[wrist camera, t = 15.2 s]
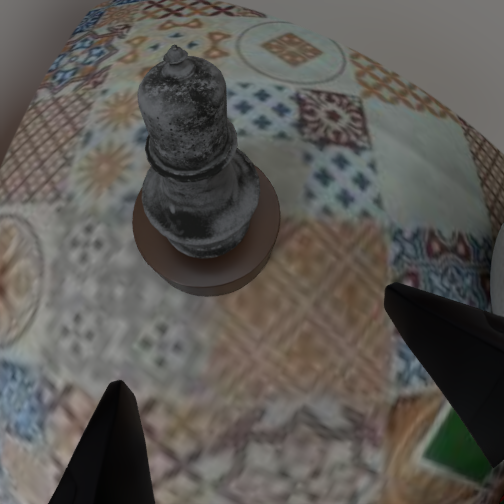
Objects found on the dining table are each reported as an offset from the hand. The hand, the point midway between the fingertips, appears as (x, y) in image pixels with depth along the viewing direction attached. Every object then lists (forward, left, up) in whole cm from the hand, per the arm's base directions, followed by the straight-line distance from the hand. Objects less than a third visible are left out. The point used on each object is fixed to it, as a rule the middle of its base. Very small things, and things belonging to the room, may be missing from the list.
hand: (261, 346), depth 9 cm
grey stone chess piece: (+3, -7, -8) cm, 11 cm away
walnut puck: (+3, -8, -11) cm, 14 cm away
